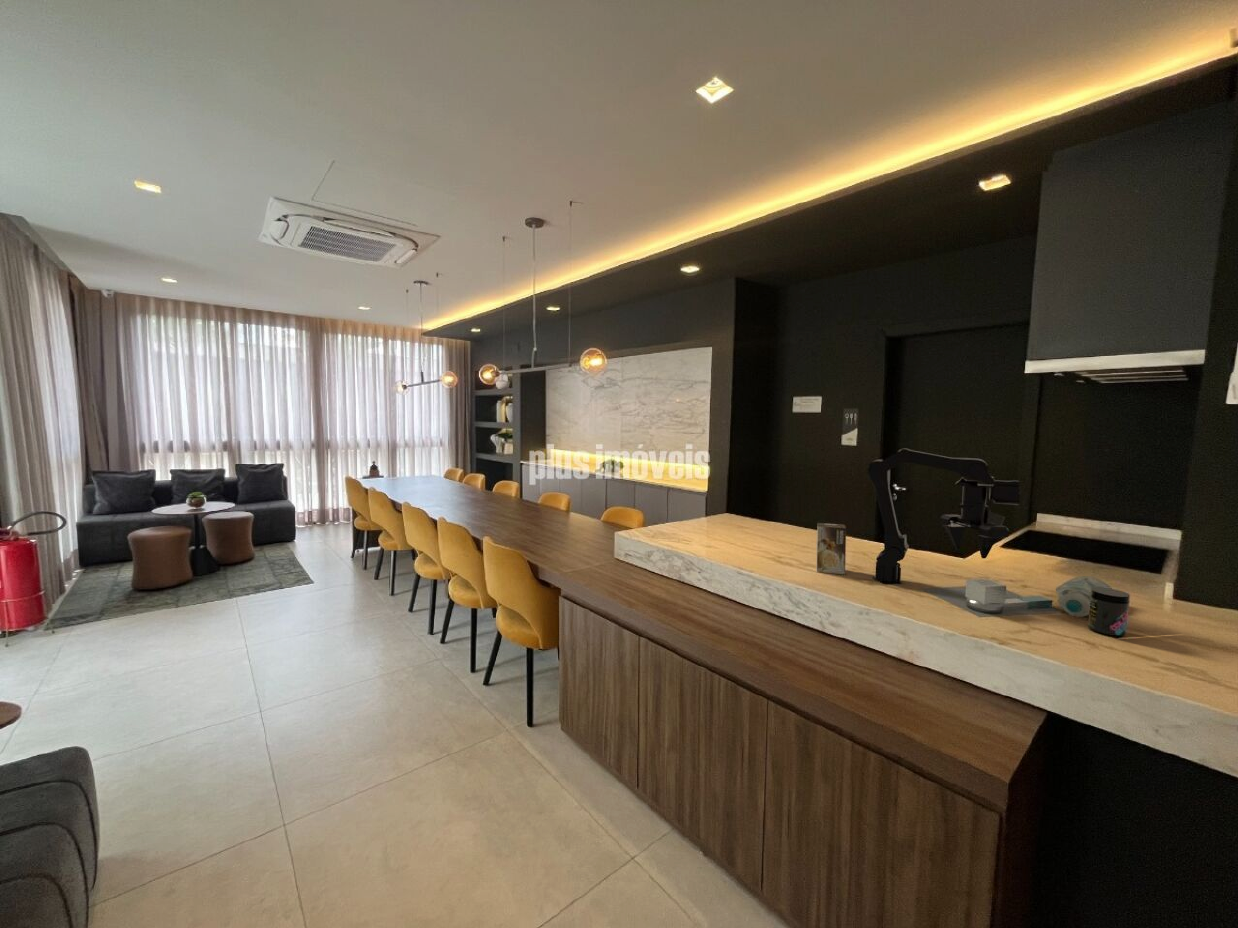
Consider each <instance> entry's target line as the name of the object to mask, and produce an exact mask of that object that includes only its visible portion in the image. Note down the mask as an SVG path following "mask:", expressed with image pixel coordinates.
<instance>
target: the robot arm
mask: <svg viewBox="0 0 1238 928" xmlns="http://www.w3.org/2000/svg"><path fill="white" fill-rule="evenodd" d="M903 463H910V464H911V463H912V464H916V465H921V466H925V467H932V468H936V469H940V470H946V471H950V472H953V473H955V474H957V475H960V476H963V477H961V478H960V479H959V480H957V481H956V482H955V485H956V486H957V487H962V497H961V499H962V500H961V503H958V504H957V505H958V506H957V507H958V508H960V509H961V510H960V511H961V514H960V515H959V514H956V513H955V514H942V515H941V517H939V524H941V525H942V527H943V528H944V529H945V530H946V532H947V534H948V536H949V537H950V538H949V539H951V542H952V544H953V546H954V547H955V549H956V551H959V550H961V548H962V543H963V542H962V541H963V535H964V532H965V530H966V529H967V528H970V529H973V530H977V531H978V532H977V533H978V534H977V542H978V549H979V553H980V557H981V559H987V557H988V555H989V553H990V551H991V550H992V548H993V546H994V545H995V543H996V542H997V541H999V540H1002V539H1005V538H1008V537H1009V534H1010V533H1009V532H1010V531H1009V528H1008V527H1007V526H1005V525H1003V523H1004V521H1005V518H1006V516H1004V515H1001V514H998V513H995V512H993V511H991V507H990V505H987V496H988V495H989V496H988V498H989V500H992V501H993V504H998V505H999V504H1000V505H1011V506H1012V505H1013V506H1019V505H1020V502H1021V492H1020V481H1019V480H1001V479H1000V480H999V479H997V480H995V477H994V476H992V475H991V473H989V470H990V468H989V466H988V464H987V463H986V461H985V460H983V459H980V458H978V457H977V458H974V457H971V458H970V457H950V456H944V455H939V454H933V453H929V452H923V451H918V450H913V449H909V448H908V447H907V448H905V447H904V448H901V449H900V450H898V451H897V452H895V453H894V454H892V455H890V456H888V457H886V458H885V459H876V460H873V461H872V462H870V463H869V465H868V466H867V468H866V470H867V474H868V477H869V478H870V481H871V483H872V485H873V487H874V489H875V491H876V497H877V501H878V505H879V511H880V515H881V521H882V525H883V531H884V541H883V543H884V547H883V550H882V551H880V552H879V553H878V555H877V557H876V561H875V576H872V577H871V578H872V579H873V580H874V581H877V582H879V583H881V584H882V585H885V586H886V585H902V584H904V582H903V581H901V578H902V567H901V563H900V561H902V560H903V559H904V558H905V556H906V555H907V552H908V549H909V547H910V545H909V543H908V541H907V534H901V531H900V530H899V527H898V526H899V525H898V521H897V516H896V511H895V506H894V502H893V497H892V492H891V487H890V486H891V484H890V483H891V470H892V469H894V468H896V467H897V466H899V465H902V464H903ZM965 478H968V479H965ZM970 479H971V480H970ZM978 480H979V481H981V482H983V483H984V484H983V483H978ZM988 488H989V492H988ZM987 493H989V494H988V495H987Z"/></svg>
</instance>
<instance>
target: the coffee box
mask: <svg viewBox="0 0 1238 928" xmlns="http://www.w3.org/2000/svg"><path fill="white" fill-rule="evenodd" d="M816 525H817V526H816V527H817V530H816V531H817V533H816V538H817V539H816V573H824V574H825V573H827V574H836V575H838V574H839V575H846V558H847V556H846V551H847V549H846V544H847V541H846V540H847V527H846V526H847V525H845V524H840V523H827V522H825V523H824V522H817V524H816Z"/></svg>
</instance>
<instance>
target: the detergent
mask: <svg viewBox="0 0 1238 928" xmlns="http://www.w3.org/2000/svg"><path fill="white" fill-rule="evenodd" d="M1093 587H1104V588H1111V589H1113V587H1111V586H1110V585H1109V584H1107V583H1106V582H1104V581H1102V580H1100V579H1098V578H1095V577H1093V576H1092V577H1091V576H1077V577H1074V578H1071V579H1068V580H1067V581H1065V582H1063V583H1062V584H1060V585H1059V586H1056V588H1055V593H1056V595H1057V596H1058V599H1057V602H1058V604H1059V606H1060V607H1061V608H1062V609H1063V611H1065V612H1066V613H1067V614H1069V615H1070V616H1073V617H1078V618H1083V617H1087V616H1089V609H1090V597H1091V595H1090V594H1091V588H1093Z"/></svg>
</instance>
